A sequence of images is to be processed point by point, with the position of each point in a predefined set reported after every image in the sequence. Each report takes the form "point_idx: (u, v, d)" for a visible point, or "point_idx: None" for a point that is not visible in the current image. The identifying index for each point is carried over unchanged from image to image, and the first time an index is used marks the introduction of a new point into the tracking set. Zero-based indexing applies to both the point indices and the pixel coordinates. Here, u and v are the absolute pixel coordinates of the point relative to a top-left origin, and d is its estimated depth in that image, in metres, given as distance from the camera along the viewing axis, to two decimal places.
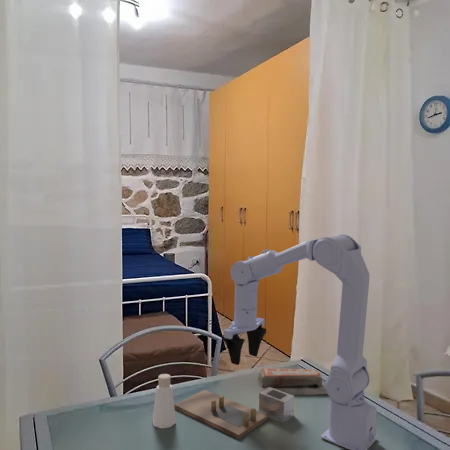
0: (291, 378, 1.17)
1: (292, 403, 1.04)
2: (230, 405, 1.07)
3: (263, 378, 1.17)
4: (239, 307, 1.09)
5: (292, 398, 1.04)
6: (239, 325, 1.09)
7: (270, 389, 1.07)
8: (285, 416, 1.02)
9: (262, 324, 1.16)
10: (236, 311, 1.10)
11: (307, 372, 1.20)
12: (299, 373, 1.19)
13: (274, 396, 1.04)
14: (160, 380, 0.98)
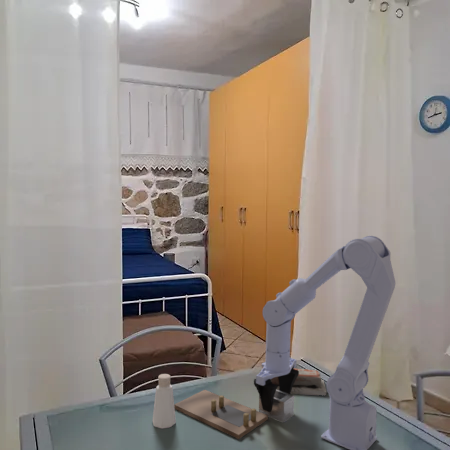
0: None
1: (292, 403, 1.04)
2: (230, 405, 1.07)
3: None
4: (273, 350, 1.01)
5: (292, 398, 1.04)
6: (271, 369, 1.02)
7: None
8: (285, 416, 1.02)
9: (294, 365, 1.09)
10: (268, 354, 1.02)
11: (307, 372, 1.20)
12: None
13: (274, 396, 1.04)
14: (160, 380, 0.98)
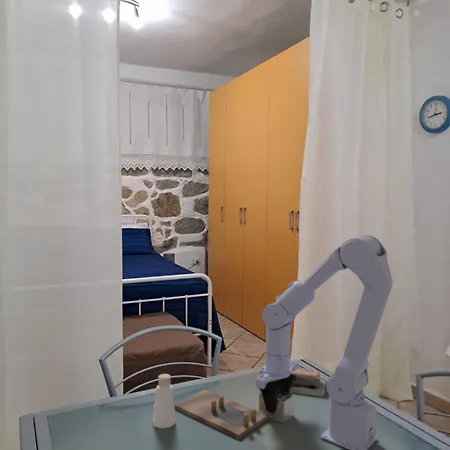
0: None
1: (292, 402, 1.04)
2: (230, 405, 1.07)
3: (261, 372, 1.20)
4: (272, 353, 1.01)
5: (292, 397, 1.04)
6: (271, 372, 1.02)
7: None
8: (285, 416, 1.02)
9: (294, 368, 1.09)
10: (268, 357, 1.02)
11: (307, 372, 1.20)
12: (298, 372, 1.19)
13: None
14: (160, 380, 0.98)
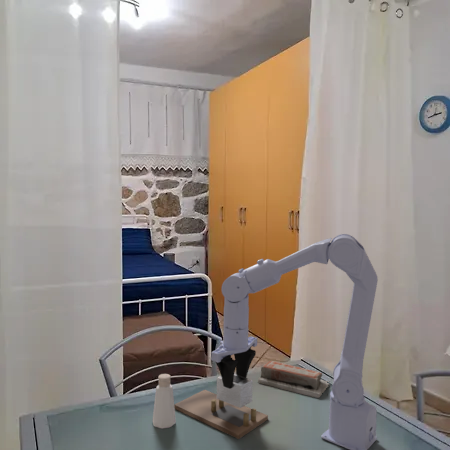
0: (286, 374, 1.20)
1: (250, 387, 1.00)
2: (230, 405, 1.07)
3: (262, 368, 1.23)
4: (233, 327, 0.98)
5: (250, 382, 1.00)
6: (228, 346, 0.98)
7: None
8: (242, 401, 0.98)
9: (255, 344, 1.05)
10: (225, 330, 0.99)
11: (307, 372, 1.19)
12: (298, 371, 1.20)
13: None
14: (160, 380, 0.98)
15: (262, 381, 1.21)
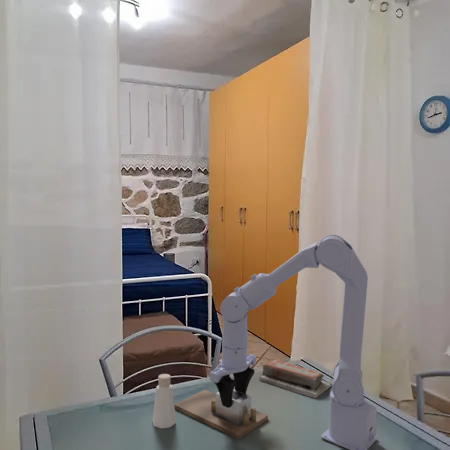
0: (286, 373, 1.20)
1: (249, 404, 1.01)
2: None
3: (264, 366, 1.25)
4: (232, 347, 0.98)
5: (249, 398, 1.00)
6: (227, 366, 0.99)
7: None
8: (241, 417, 0.98)
9: (253, 362, 1.05)
10: (224, 350, 0.99)
11: (307, 372, 1.19)
12: (298, 371, 1.20)
13: None
14: (160, 380, 0.98)
15: (263, 379, 1.23)
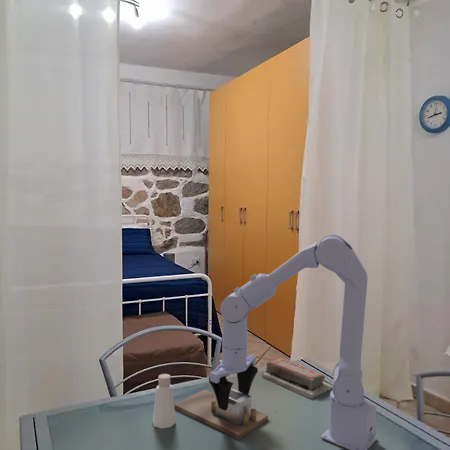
0: (287, 372, 1.21)
1: (249, 404, 1.01)
2: None
3: (267, 363, 1.27)
4: (232, 347, 0.98)
5: (249, 398, 1.00)
6: (227, 366, 0.99)
7: None
8: (241, 417, 0.98)
9: (253, 362, 1.05)
10: (224, 350, 0.99)
11: (307, 372, 1.19)
12: (298, 370, 1.21)
13: (231, 396, 1.01)
14: (160, 380, 0.98)
15: (265, 376, 1.25)
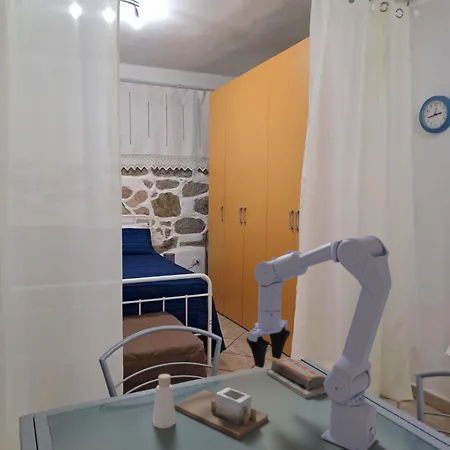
0: (288, 370, 1.22)
1: (249, 404, 1.01)
2: None
3: (272, 361, 1.29)
4: (262, 309, 1.07)
5: (249, 398, 1.00)
6: (263, 327, 1.07)
7: (228, 389, 1.04)
8: (241, 417, 0.98)
9: (285, 326, 1.14)
10: (260, 313, 1.08)
11: (306, 372, 1.19)
12: (299, 370, 1.21)
13: (231, 396, 1.01)
14: (160, 380, 0.98)
15: (269, 373, 1.27)
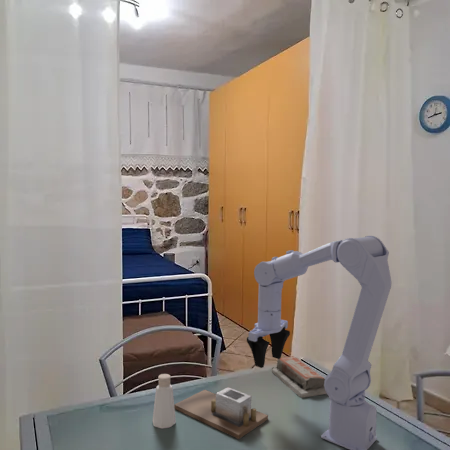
0: (289, 369, 1.23)
1: (249, 404, 1.01)
2: None
3: (278, 360, 1.30)
4: (262, 309, 1.07)
5: (249, 398, 1.00)
6: (263, 327, 1.07)
7: (228, 389, 1.04)
8: (241, 417, 0.98)
9: (285, 326, 1.14)
10: (260, 313, 1.08)
11: (306, 373, 1.19)
12: (299, 369, 1.21)
13: (231, 396, 1.01)
14: (160, 380, 0.98)
15: (273, 371, 1.29)
